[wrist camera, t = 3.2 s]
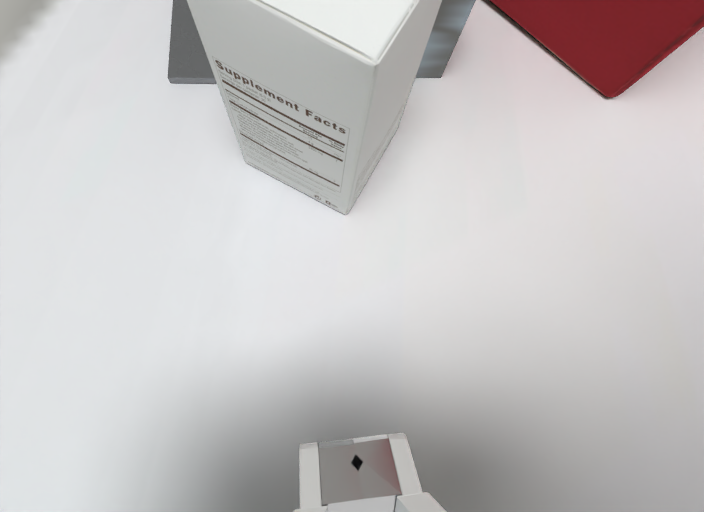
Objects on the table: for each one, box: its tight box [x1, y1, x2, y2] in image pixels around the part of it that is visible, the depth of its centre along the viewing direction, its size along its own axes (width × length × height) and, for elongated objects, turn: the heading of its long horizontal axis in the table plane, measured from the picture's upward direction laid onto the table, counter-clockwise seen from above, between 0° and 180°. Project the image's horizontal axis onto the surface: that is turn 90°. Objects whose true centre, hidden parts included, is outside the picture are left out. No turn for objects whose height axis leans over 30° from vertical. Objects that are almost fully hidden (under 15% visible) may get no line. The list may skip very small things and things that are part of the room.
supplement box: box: [187, 0, 442, 215], centre depth 21 cm, size 9×9×15 cm
